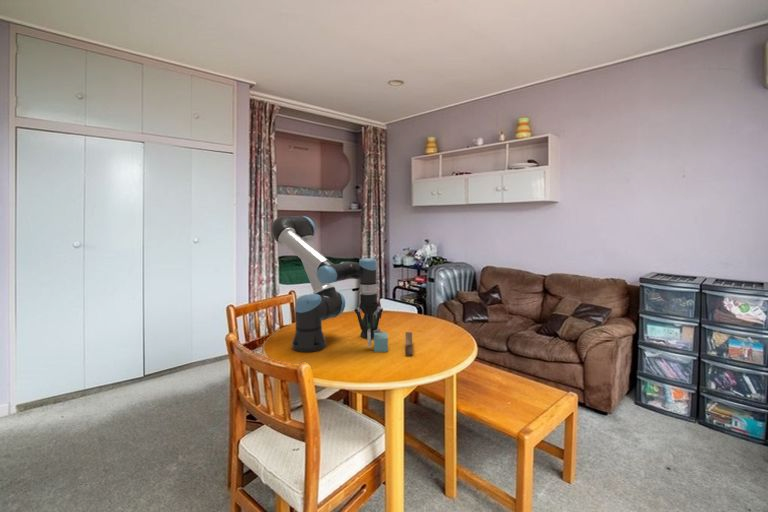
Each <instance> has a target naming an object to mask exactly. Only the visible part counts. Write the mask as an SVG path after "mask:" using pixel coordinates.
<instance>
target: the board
mask: <svg viewBox="0 0 768 512" xmlns="http://www.w3.org/2000/svg"><path fill="white" fill-rule="evenodd" d="M404 339H405V342H404V343H405V345H404V348H405V349H404V352H405V353H404V354H405V355H404V356H405V357H413V332H411V331H406V332H405V338H404Z"/></svg>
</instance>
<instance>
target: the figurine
mask: <svg viewBox="0 0 768 512" xmlns="http://www.w3.org/2000/svg"><path fill="white" fill-rule="evenodd" d="M377 304H378V306H379V307H380V308H382V306H381V305H382V304H381V301H380V298H379V297H377ZM382 313H383V312H382ZM382 313H381V315H380V319H382V315H383V314H382ZM377 315H378V309H377V310H376V311H375V312H374V314H373V319H374V327H375V324H376V320H377ZM361 318H362V321H363V325H364V327H365V318H364V316H363V317H361ZM380 319H379V320H380ZM368 330H370V314H368ZM374 333H383V332H382V329H381V328H380V327H379V326H378V328H377V330H374ZM360 337H361V338H362V339H366V340H367V338H365V331H364V330H361V332H360ZM371 340H374V337H373V338H371Z"/></svg>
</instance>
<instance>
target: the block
mask: <svg viewBox="0 0 768 512" xmlns="http://www.w3.org/2000/svg"><path fill="white" fill-rule="evenodd" d="M388 337H389V336H388V332H382V333H374V339H373V353H388V351H389V349H388V348H389V347H388V344H389V341H388Z"/></svg>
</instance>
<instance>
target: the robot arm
mask: <svg viewBox="0 0 768 512" xmlns="http://www.w3.org/2000/svg"><path fill="white" fill-rule="evenodd" d="M270 233H271V236H272V238H273V239H274V241H276V242H277V243H278V244H279V245H280V246H283V247H284V246H285V247H286V248H287V249H288V250H290V251H291V252H292V253H293V254H295V256H297V257H298V258H299V259H300V260H301V262H302V265H303V268H304V271H305V273H306V276H307V278H308V280H309V283H310V285H311V288H312V291H313V293H310V294H304V295H302V296H299V297H297V298H296V299H295V302H294V303H295V305H294V316H295V319H294V320H295V332H294V336H293V340H292V343H291V345H292V347H291V348H292V350H293V351H295V352H300V353H312V352H317V351H321V350H324V349H325V348H326V347H327V340H326V337H325V335H324V331H323V329H322V328H323V326H322V324H323V323H322V322H324V321H325V320H329V319H333V318H337V317H338V316H340V315H341V314H343V312H344V311H345V308H346V299H345V296H344V295H343V293H341V292H340V291H337V290H336V287H335V286H334V285H332V284H333V283H337V282H341V281H345V280H346V281H347V280H359V293H360V294H359V295H360V296H359V306H358V307H356V308H354V310H353V311H354V312H355V315H356V317H357V320H358V323H359V328H360V330H361V331H362V330H364V331H365V338H367V339H366V340H367V347H371V346H372V339H371V338H373V337H374V330H377V328H378V327H379V323H380V315H381V313H383V312H384V308H383V307H381V308H380V307H379V306H378V304H377V298H378V294H377V292H378V284H377V283H378V282H377V273H378V272H377V271H378V270H377V269H378V268H377V260H376V259H375V258H372V257H371V258H365V257H364V258H359V262H354V261H341V262H340V263H333V262H332V261H330V260H329V258H327V257H325V256H324V255H323V254H322V253H321V252H319V251H318V250H317V249H316V246H315V243H314V239H315V234H316V225H315V223H314V221H313V220H312V219H311V218H310V217H308V216H304V215H296V216H295V215H290V216H289V215H282V216H278V217H277V218H275V220H273V221H272V223H271V226H270ZM377 309H378V315H377V320H376V324H375V327H374V319H373V314H374V312H375V311H376V310H377ZM361 312H362V313H363V317H364V318H365V327H364V325H363V321H362V318H363V317H362V314H361ZM368 314H370V330H368ZM381 316H382V315H381ZM365 338H364V339H365Z"/></svg>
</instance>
